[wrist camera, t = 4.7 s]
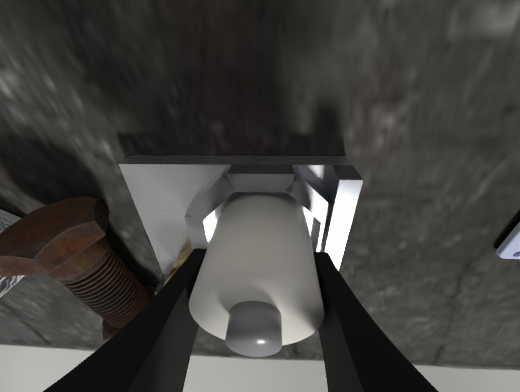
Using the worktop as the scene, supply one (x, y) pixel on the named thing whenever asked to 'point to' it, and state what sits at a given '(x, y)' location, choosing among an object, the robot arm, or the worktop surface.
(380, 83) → the worktop surface
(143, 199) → the carrier
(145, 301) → the bolt
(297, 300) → the white knobbed cylinder
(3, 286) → the light bulb box
